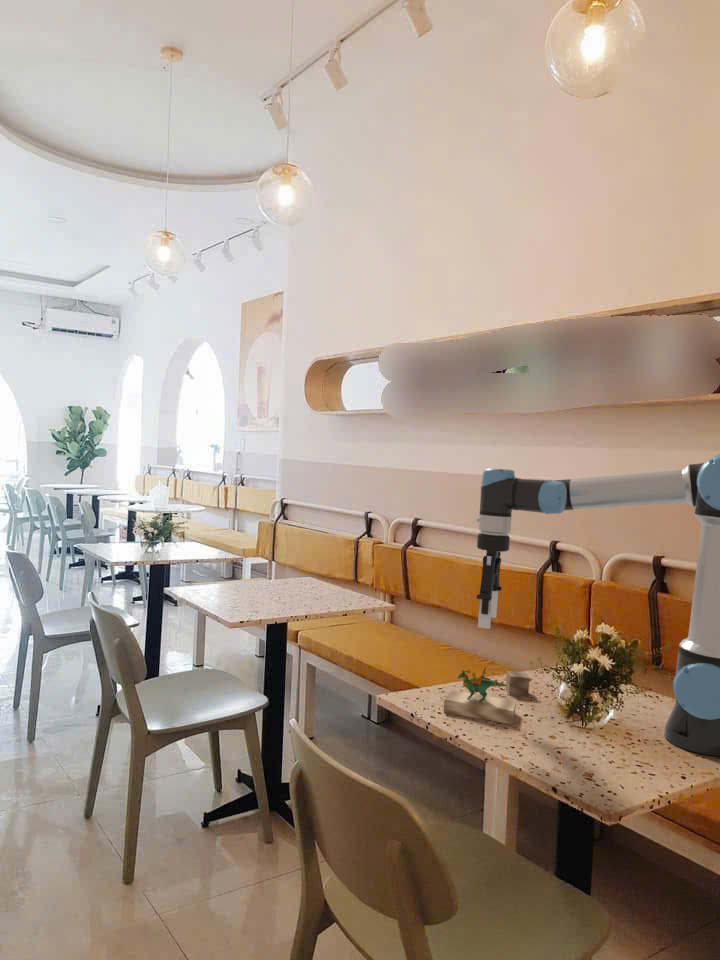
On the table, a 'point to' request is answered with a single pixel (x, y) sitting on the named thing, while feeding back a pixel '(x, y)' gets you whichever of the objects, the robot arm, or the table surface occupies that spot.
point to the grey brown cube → (517, 683)
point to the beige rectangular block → (480, 707)
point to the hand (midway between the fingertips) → (487, 622)
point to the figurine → (478, 683)
